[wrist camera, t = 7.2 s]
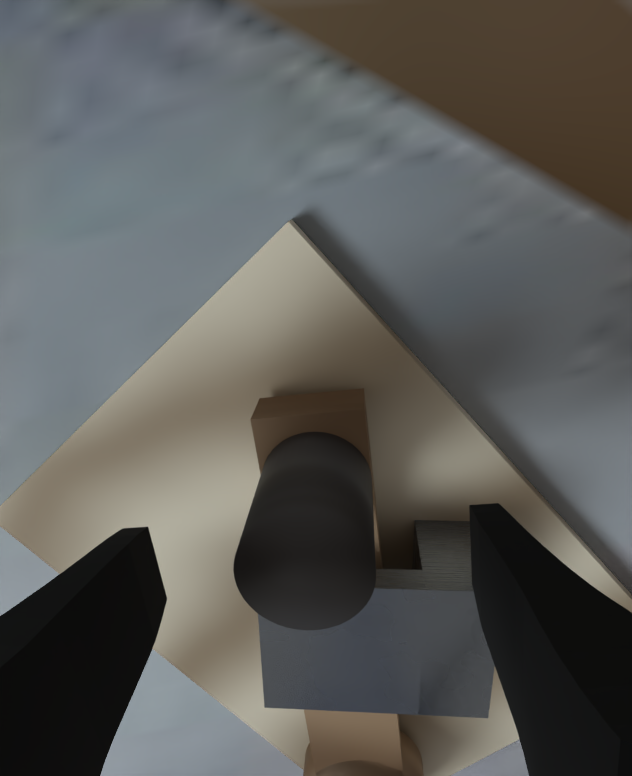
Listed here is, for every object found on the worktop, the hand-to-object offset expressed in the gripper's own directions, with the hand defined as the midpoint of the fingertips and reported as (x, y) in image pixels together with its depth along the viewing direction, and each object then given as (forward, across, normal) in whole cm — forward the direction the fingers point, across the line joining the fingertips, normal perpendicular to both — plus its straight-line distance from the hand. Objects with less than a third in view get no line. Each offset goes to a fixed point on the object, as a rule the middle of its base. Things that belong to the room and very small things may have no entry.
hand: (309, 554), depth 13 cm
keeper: (+6, -1, +5) cm, 8 cm away
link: (+5, 0, +6) cm, 8 cm away
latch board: (+6, 0, +5) cm, 8 cm away
